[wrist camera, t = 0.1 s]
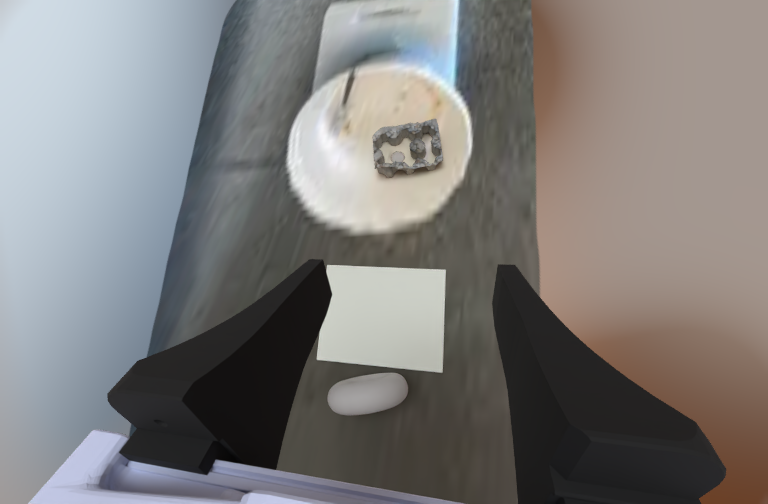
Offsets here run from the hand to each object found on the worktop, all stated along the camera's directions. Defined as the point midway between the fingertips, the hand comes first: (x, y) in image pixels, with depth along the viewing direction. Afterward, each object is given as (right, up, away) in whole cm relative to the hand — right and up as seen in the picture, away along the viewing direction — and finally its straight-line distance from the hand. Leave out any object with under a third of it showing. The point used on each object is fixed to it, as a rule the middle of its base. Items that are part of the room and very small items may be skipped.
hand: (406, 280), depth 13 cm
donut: (-2, -17, +30) cm, 35 cm away
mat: (-1, -8, +32) cm, 33 cm away
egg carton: (+3, +17, +37) cm, 41 cm away
